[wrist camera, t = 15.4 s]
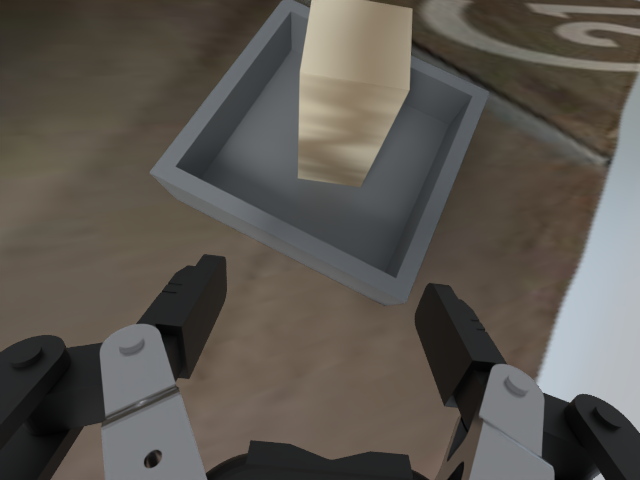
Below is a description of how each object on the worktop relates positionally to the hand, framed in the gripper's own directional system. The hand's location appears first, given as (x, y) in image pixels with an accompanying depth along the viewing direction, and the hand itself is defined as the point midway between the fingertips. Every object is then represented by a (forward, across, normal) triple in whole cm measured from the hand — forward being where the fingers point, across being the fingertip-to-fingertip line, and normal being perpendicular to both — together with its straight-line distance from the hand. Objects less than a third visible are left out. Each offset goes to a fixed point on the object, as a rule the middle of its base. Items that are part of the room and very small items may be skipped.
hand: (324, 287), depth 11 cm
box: (+13, 0, -2) cm, 13 cm away
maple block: (+12, 0, -2) cm, 12 cm away
